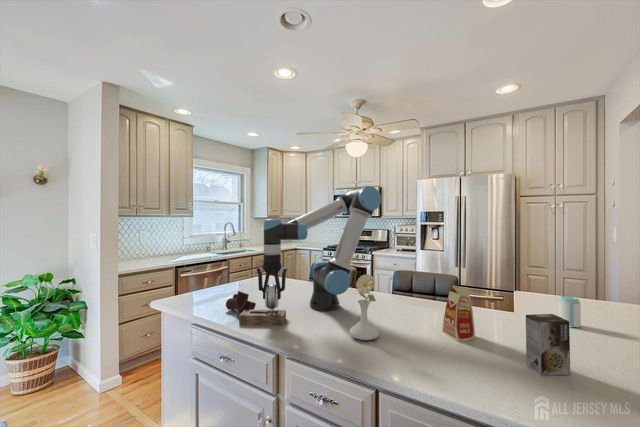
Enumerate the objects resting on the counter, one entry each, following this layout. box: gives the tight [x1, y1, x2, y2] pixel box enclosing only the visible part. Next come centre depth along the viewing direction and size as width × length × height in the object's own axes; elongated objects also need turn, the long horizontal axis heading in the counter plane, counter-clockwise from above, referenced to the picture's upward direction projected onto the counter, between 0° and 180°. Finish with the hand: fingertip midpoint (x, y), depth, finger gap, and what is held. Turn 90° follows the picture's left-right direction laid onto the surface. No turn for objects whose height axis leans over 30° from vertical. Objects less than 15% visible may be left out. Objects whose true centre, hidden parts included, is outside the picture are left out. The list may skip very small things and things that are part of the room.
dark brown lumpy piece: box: [225, 290, 257, 314], centre depth 141 cm, size 6×17×10 cm, turn 54°
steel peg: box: [266, 283, 277, 315], centre depth 130 cm, size 4×4×14 cm
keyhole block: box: [238, 308, 287, 326], centre depth 130 cm, size 19×8×4 cm, turn 87°
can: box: [558, 295, 582, 328], centre depth 125 cm, size 7×7×12 cm
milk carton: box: [441, 284, 476, 342], centre depth 115 cm, size 9×9×20 cm
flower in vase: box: [349, 273, 380, 341], centre depth 113 cm, size 13×11×25 cm
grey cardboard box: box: [525, 313, 571, 377], centre depth 89 cm, size 9×6×16 cm
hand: (271, 306), depth 129 cm, fingers closed on steel peg, 4 cm apart
